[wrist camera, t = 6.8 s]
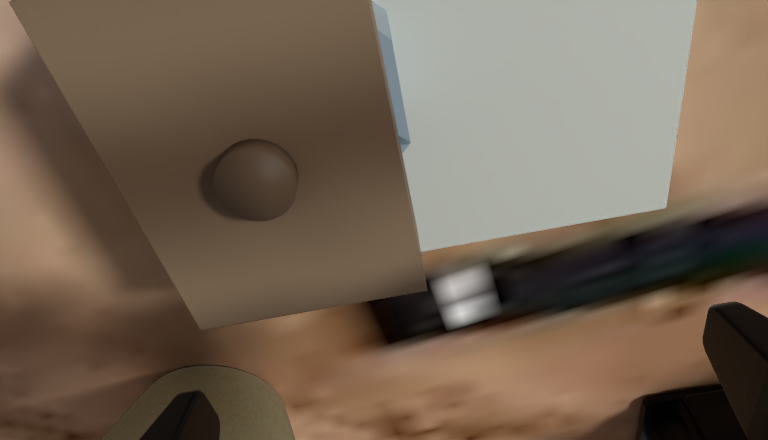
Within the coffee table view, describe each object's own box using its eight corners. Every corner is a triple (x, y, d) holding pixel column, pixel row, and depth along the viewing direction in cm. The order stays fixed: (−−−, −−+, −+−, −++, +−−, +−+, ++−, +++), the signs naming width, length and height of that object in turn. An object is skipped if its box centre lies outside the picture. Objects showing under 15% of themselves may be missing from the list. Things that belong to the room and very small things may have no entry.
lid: (416, 225, 17) (429, 306, 14) (222, 262, 17) (195, 346, 14) (352, -94, 12) (352, -74, 9) (78, -30, 12) (-10, 9, 9)
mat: (654, 194, 21) (666, 208, 21) (412, 238, 22) (415, 252, 21) (690, -82, 16) (709, -79, 15) (362, -11, 16) (362, -4, 16)
